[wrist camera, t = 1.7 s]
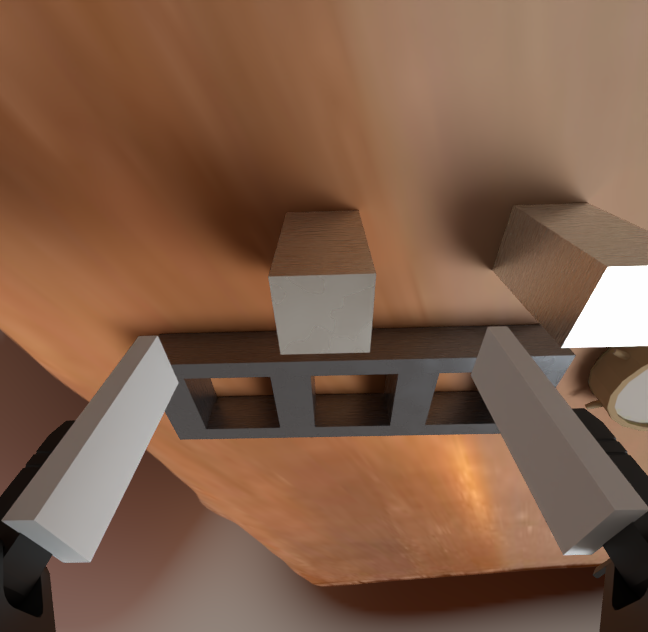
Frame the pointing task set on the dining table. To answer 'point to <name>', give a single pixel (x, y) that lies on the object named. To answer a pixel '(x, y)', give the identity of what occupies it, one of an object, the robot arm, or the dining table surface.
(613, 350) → the alarm clock
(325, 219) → the grey rectangular block
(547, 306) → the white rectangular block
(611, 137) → the dining table surface
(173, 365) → the grey metal flat frame
